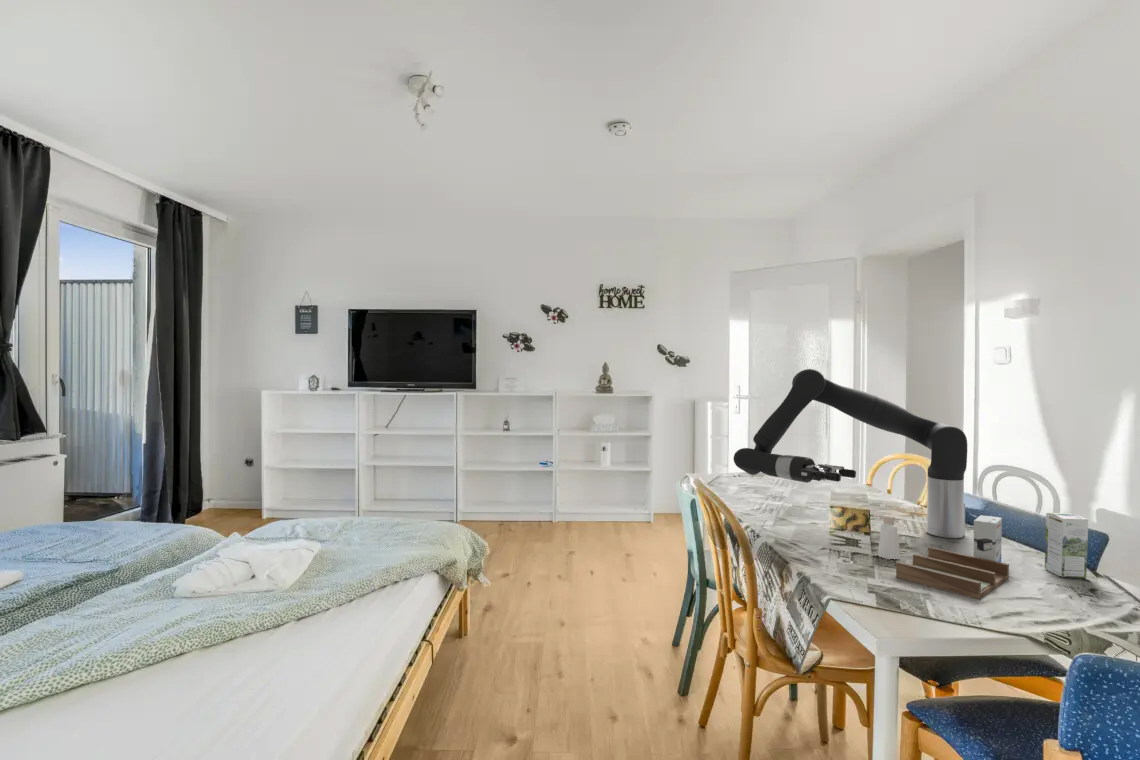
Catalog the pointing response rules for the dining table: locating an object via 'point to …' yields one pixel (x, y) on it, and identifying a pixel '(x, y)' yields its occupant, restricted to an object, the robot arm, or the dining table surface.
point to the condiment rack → (954, 572)
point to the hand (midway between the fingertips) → (847, 476)
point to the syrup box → (1066, 544)
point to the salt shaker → (888, 539)
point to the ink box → (988, 537)
